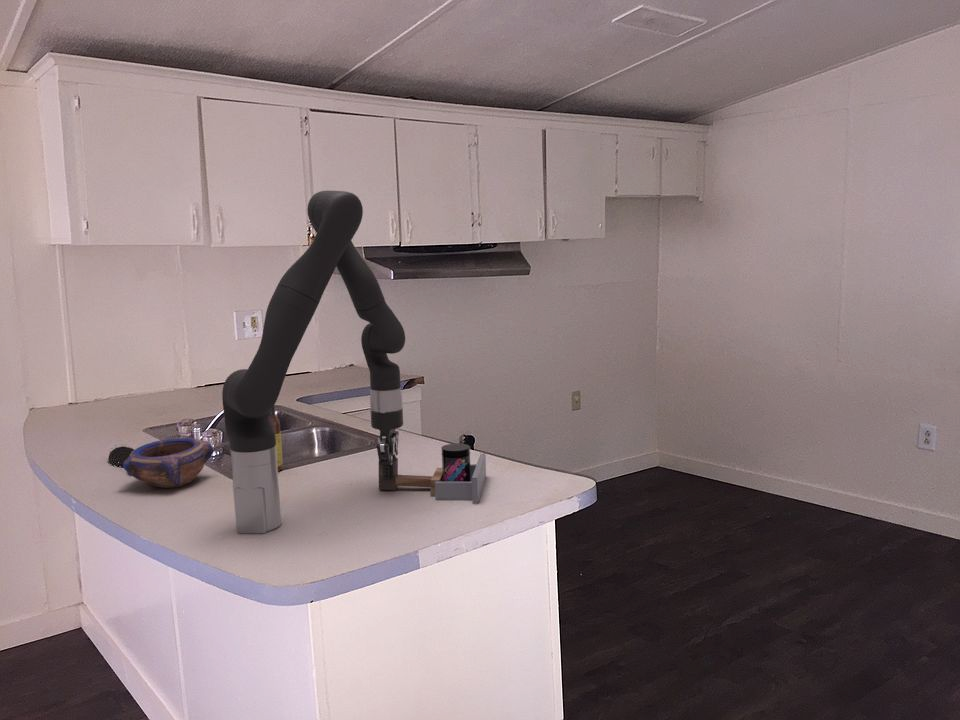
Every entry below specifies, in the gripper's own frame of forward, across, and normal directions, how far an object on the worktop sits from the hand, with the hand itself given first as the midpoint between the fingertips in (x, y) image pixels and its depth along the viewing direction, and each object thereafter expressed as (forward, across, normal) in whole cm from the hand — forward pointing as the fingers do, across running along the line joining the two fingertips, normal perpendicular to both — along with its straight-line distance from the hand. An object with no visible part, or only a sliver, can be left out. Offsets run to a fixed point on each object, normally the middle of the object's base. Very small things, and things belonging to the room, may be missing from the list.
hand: (389, 477), depth 192 cm
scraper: (+3, 0, +5) cm, 6 cm away
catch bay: (+3, 0, +17) cm, 17 cm away
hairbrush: (+4, -20, -76) cm, 79 cm away
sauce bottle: (+3, -15, -35) cm, 38 cm away
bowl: (+3, -4, -57) cm, 57 cm away
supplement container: (+3, 0, +16) cm, 16 cm away
